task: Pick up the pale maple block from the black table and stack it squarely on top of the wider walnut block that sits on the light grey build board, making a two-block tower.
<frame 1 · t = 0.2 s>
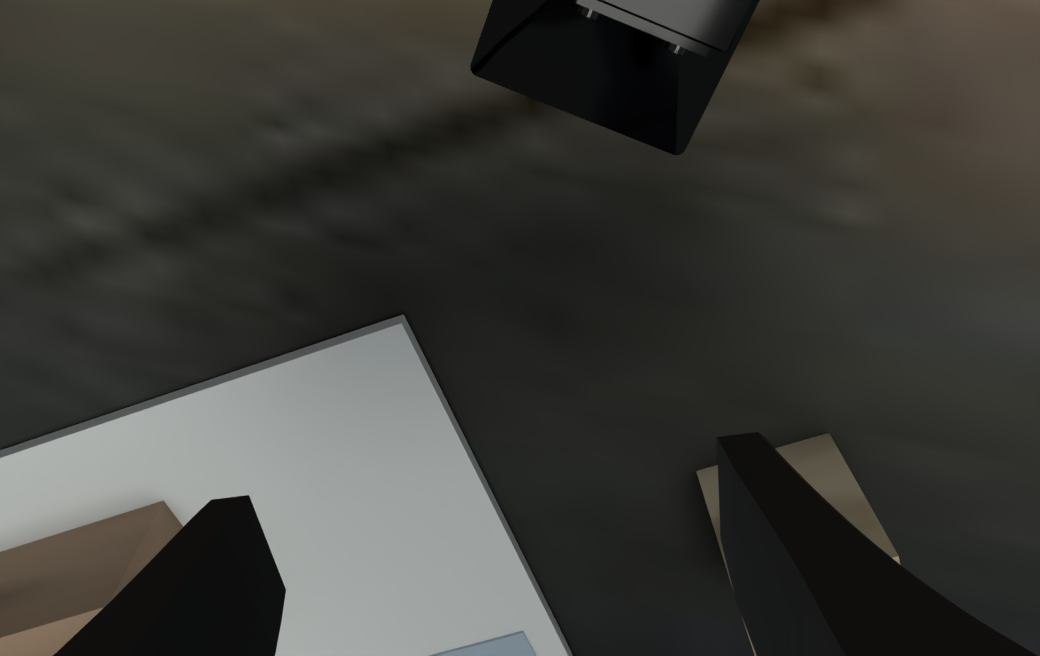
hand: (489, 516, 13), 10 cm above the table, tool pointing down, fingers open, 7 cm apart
walnut block: (132, 594, 26), resting on build board
maple block: (775, 499, 26), on the table
build board: (293, 612, 28), on the table
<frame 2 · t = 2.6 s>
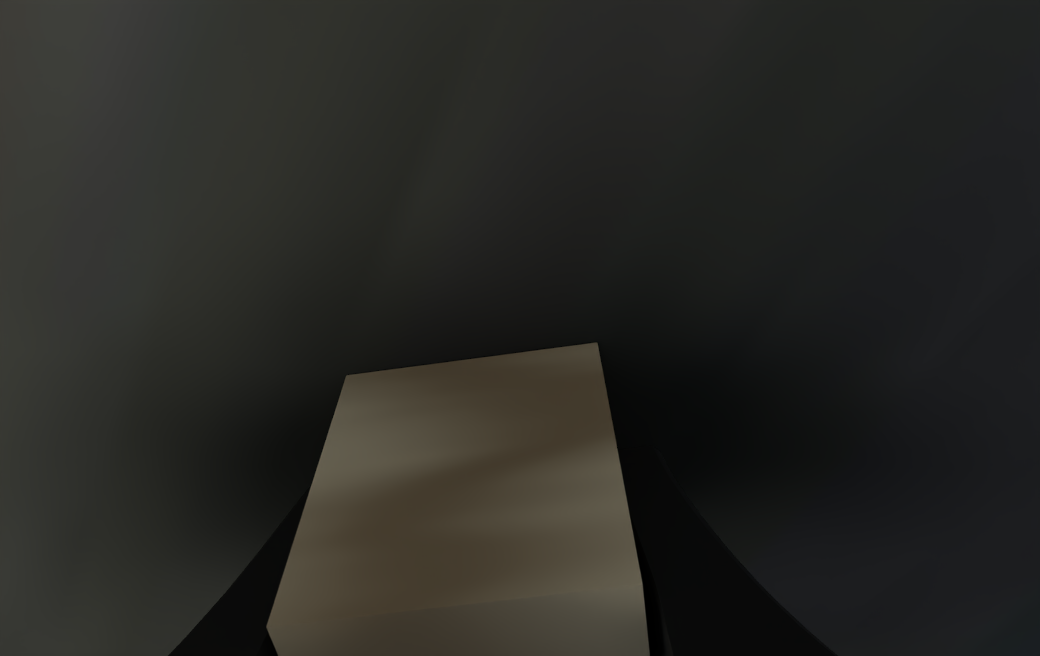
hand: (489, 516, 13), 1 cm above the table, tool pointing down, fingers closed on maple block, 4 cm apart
maple block: (491, 459, 14), on the table, touching gripper
when the fingers open (7 cm above the table, at t = 5.8 s): maple block stays where it is, resting on walnut block.
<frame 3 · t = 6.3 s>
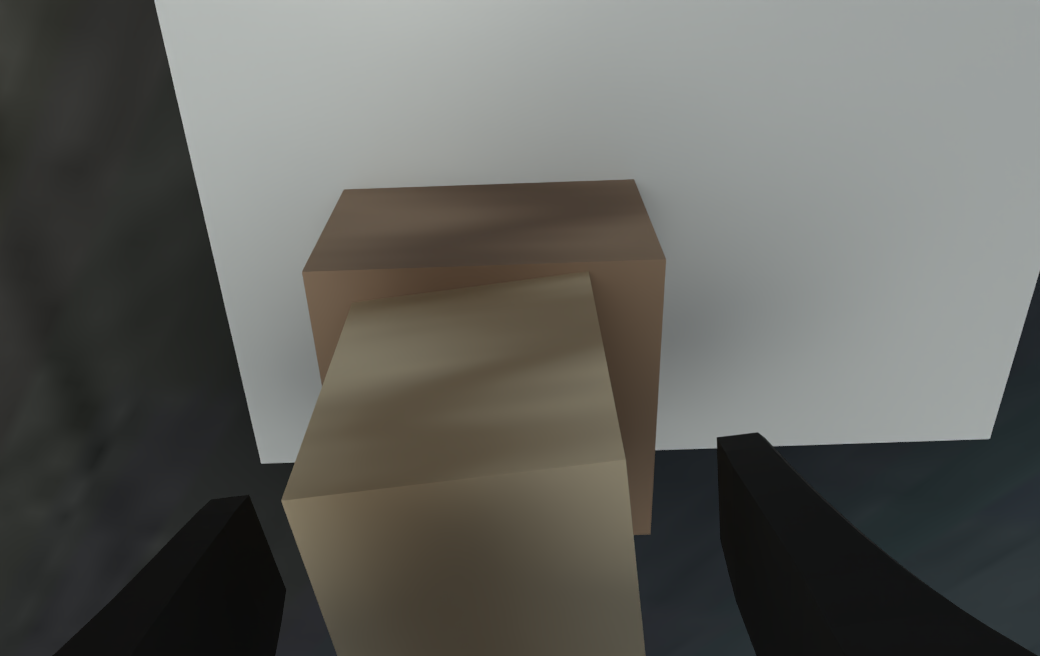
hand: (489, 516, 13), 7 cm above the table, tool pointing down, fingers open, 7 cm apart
walnut block: (495, 312, 19), resting on build board, touching maple block
maple block: (488, 386, 15), point 4 cm above the table, touching walnut block
build board: (632, 124, 17), on the table
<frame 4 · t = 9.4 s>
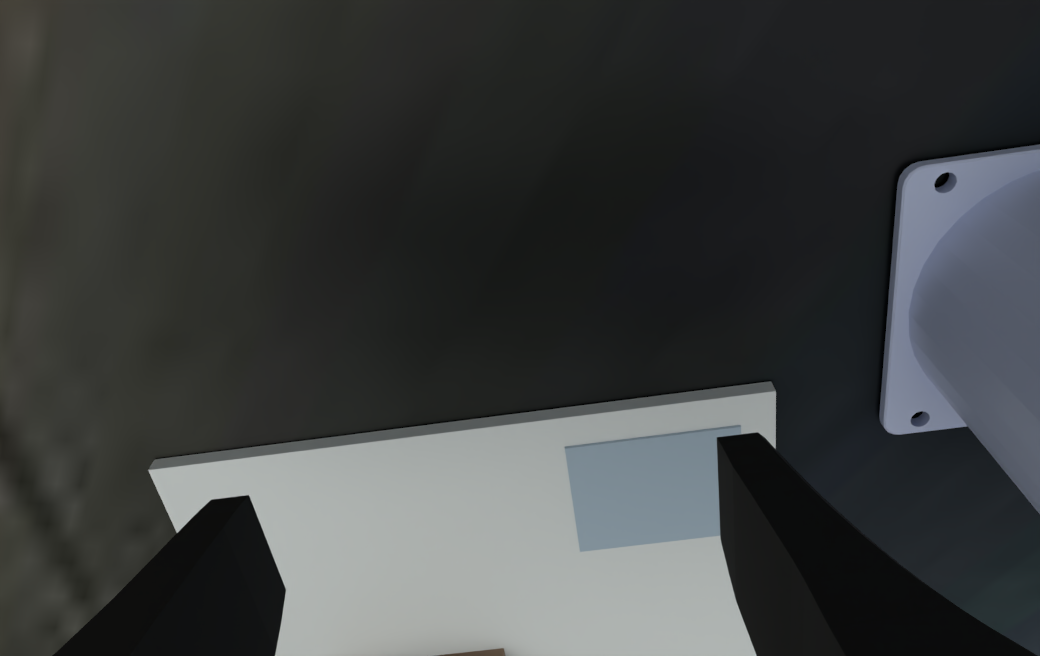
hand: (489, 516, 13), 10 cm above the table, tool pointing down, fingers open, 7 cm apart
build board: (499, 615, 28), on the table
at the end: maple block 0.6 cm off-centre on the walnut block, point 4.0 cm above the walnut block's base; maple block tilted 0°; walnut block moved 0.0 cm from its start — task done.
